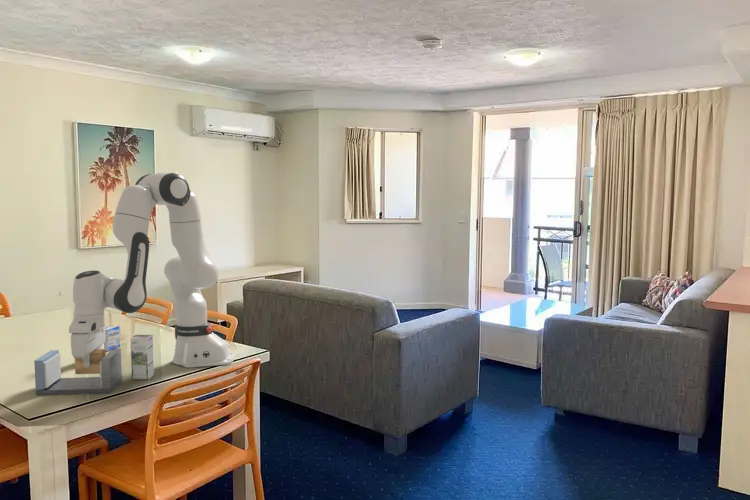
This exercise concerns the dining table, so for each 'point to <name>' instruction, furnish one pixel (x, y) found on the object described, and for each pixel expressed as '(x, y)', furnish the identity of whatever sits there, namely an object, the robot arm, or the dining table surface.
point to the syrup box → (142, 357)
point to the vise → (90, 379)
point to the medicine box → (112, 338)
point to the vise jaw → (47, 369)
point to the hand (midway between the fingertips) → (90, 364)
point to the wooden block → (95, 363)
